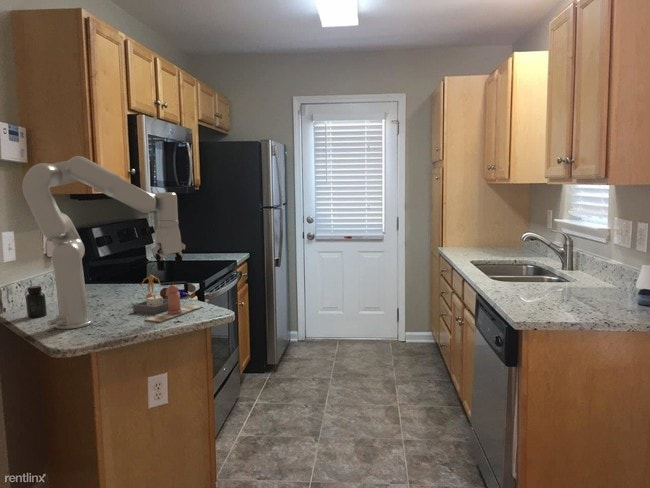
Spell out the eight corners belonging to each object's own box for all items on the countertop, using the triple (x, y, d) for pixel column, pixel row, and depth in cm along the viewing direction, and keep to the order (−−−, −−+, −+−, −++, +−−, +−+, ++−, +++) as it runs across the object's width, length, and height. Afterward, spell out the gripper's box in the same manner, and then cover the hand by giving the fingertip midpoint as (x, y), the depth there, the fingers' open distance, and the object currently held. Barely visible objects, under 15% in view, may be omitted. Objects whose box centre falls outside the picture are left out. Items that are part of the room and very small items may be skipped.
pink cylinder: (175, 314, 202) (173, 286, 200) (165, 313, 204) (163, 285, 203) (184, 311, 206) (182, 283, 205) (174, 310, 209) (172, 283, 207)
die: (155, 310, 210) (154, 298, 210) (146, 309, 212) (145, 298, 212) (164, 307, 215) (163, 296, 214) (155, 306, 217) (154, 295, 216)
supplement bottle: (30, 315, 213) (27, 286, 211) (49, 313, 214) (46, 284, 213) (25, 319, 206) (22, 289, 205) (44, 317, 208) (41, 287, 206)
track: (160, 322, 193) (160, 321, 193) (144, 320, 196) (144, 319, 196) (202, 307, 214) (202, 306, 214) (187, 306, 218) (187, 304, 218)
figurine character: (192, 296, 243) (158, 297, 236) (192, 280, 243) (159, 280, 236) (195, 299, 237) (160, 300, 230) (196, 282, 237) (161, 283, 230)
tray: (155, 314, 206) (155, 307, 205) (133, 312, 211) (133, 304, 211) (177, 307, 216) (176, 300, 216) (155, 305, 222) (154, 298, 221)
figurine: (140, 303, 226) (137, 276, 225) (144, 300, 232) (142, 273, 231) (159, 302, 226) (157, 275, 225) (163, 299, 232) (161, 272, 231)
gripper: (176, 222, 210) (178, 264, 212) (143, 226, 195) (146, 271, 197) (190, 223, 207) (192, 265, 209) (159, 226, 192) (161, 272, 194)
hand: (170, 268), depth 203 cm, fingers open, 9 cm apart
